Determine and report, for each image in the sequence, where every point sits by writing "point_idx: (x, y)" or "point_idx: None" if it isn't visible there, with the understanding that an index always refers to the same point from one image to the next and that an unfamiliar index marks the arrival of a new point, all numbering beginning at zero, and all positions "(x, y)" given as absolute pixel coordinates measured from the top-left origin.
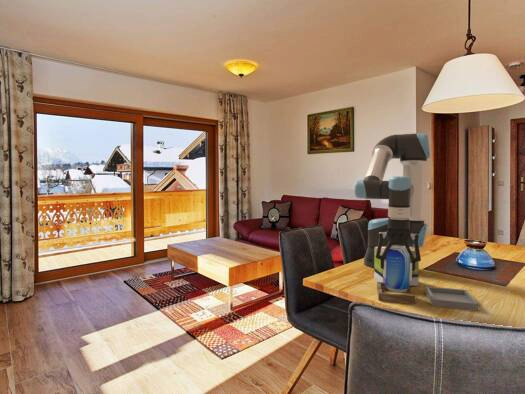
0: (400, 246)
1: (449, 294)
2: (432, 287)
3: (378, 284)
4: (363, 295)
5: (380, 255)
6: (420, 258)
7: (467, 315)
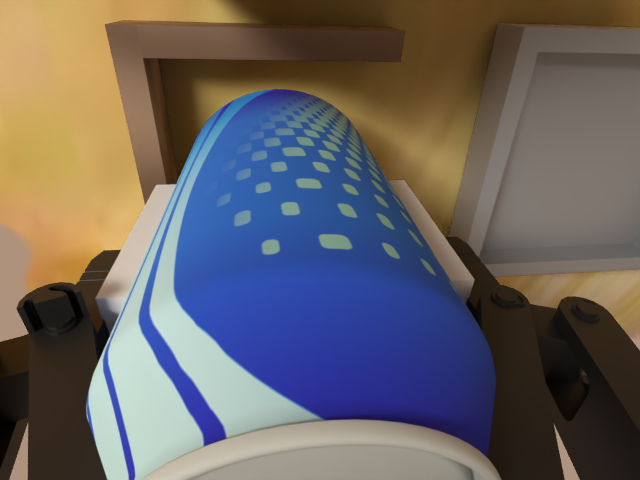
0: (403, 439)
1: (632, 78)
2: (566, 49)
3: (131, 103)
4: (66, 217)
5: (16, 376)
6: (578, 389)
7: (546, 305)
